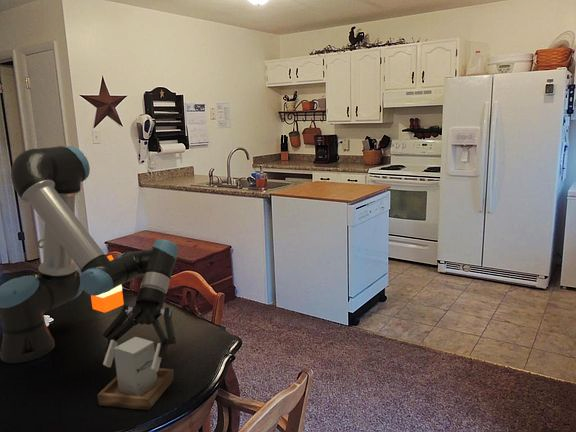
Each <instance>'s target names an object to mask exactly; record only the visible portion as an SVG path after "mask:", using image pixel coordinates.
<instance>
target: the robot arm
mask: <svg viewBox="0 0 576 432" xmlns="http://www.w3.org/2000/svg"><path fill="white" fill-rule="evenodd" d="M90 169H91V168H90V164H89V160H88V158H87V157H86V155H85V154H84V153H83V151H82V150H80V149H79V148H77V147H74V146H64V145H59V146H52V147H51V146H49V147H43V148H41V147H40V148H29V149H27V150H24V151H22V152H21V153H19V154H18V155H17V156H16V157H15V159H14V160H13V163H12V166H11V170H10V177H11V178H10V179H11V182H12V185H13V188H14V190H15V192H16V193H17V194H16V195H18V197H20V199H21V200H22V201H23V203H28V204H30V206H31V207H32V208H33V210H34V211H35V212H36V214H37V215H38V216H39V218H41V220H42V221H43V224H44V226H43V227H44V228H43V229H44V231H43V235H44V236H43V238H44V241H43V245H44V247H43V262H42V263H41V264H39V266H38V267H37V269H38V270H37V272H38V273H37V276H38V277H35V275H22V276H20V277H15V278H11V279H9V280H7V281H5V282H4V283H2V284H1V285H0V323H1V329H2V340H1V345H0V346H1V347H0V360H1V361H2V362H3V361H4V362H3V363H6V362H7V364H21V363H27V362H30V361H34V360H36V359H40V358H42V357H44V356H45V355H47V354H49V353H50V352H52V351H53V349H54V348H55V347H56V345H55V343H56V342H55V339H54V336H53V335H52V334H51V331H50V329H49V327H48V326H47V324H46V321H45V313H46V312H49V311H51V310H53V309H55V308H58V307H60V306H62V305H65V304H67V303H70V302H72V301H73V300H74V299H76V298H78V297H79V296H80V295H81V294H82V292H85V293H86V294H88V295H89V296H91V295H92V296H97V295H100V294H103V293H105V292H108V291H110V290H111V289H113V288H115V287H117V286H119V285H121V284H122V285H123V284H126V283H128V282H130V281H132V280H135V279H136V278H138V277H142V278H141V283H140V286H139V287H140V289H139V290H138V293H137V296H136V298H135V304H134V306H133V307H132V306H128V305H127V304H124V305H122V306H123V307H122V309H121V311H120V313H119V314H118V315H117V316H116V318H115V319H114V320H113V321H112V323H111V324H110V325H109V326H108V327H107V328H106V330H105V331H104V332H103V334H102V336H103V337H104V338H105V339H107V342H106V345H105V349H104V352H105V356H104V359H103V363H102V365H103V366H105V367H107V368H111V367H112V364H113V361H114V359H115V356H114V348H115V347H117V346H119V342H118V340H119V339H120V338H121V337H123V336H124V335H126V333H127V332H129V331H130V330H131V329H132V328H133V327H134V326H138V324H139V325H149V326H151V325H152V326H153V328H154V330H155V332H156V334H157V336H158V338H159V341H160V342H158V343H157V345H156V347H155V355H154V359H153V363H152V366H151V369H152V370H154V371H157V372H158V370H159V368H160V366H161V365H160V364H161V363H162V359H165V357H166V354H167V351H168V347H169V346H170V345H175V344H176V343H177V339H176V333H175V329H174V324H173V321H172V316H173V310H171V308H169V307H168V306H167V307H165V308H164V307H163V306H164V305H165V302H166V301H165V300H166V297H167V296H166V294H167V292H168V290H169V286H170V282H171V277H172V274H173V272H174V271H173V270H174V269H175V264H176V262H177V258H178V252H179V247H178V245H177V244H176V243H174V242H173V241H171V240H168V239H165V238H164V239H162V238H160V239H156V240H155V241H154V242H153V244H152V246H151V248H150V249H145V250H137V251H136V250H135V251H127V252H124V253H120V254H118V255H117V257H116V258H113V259H114V260H111V261H110V260H109V259H108V257H107V256H108V255H107V254H105V253H104V251H103V250H102V249H101V248H100V246H99V244H97V242H96V241H95V239H94V238H93V237H92V235H91V234H90V232H89V231H87V229H86V227H85V226H84V225H83V224H82V222H81V221H80V220H79V218H78V217H77V216H76V215H75V211H76V210H75V209H76V208H75V205H76V204H75V203H76V196H77V195H78V193H80V192H81V188H82V187H81V186H82V185H81V184H82V183H83V182H84V181H85V180H87V178H89V175H90V171H91V170H90ZM73 261H74V262H73ZM160 316H163V322H164V326H165V330H166V331H165V332H166V334H167V335H166V334H165V332H164V329H163V327H162V326H161V323H160V320H158V319H159V318H160Z"/></svg>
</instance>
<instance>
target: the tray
mask: <svg viewBox="0 0 576 432" xmlns="http://www.w3.org/2000/svg"><path fill="white" fill-rule="evenodd" d="M174 375H175V374H174V368H173V369H172V368H163V367H159V370H158V372H157V380H158V384H157V385H156V386H154V387H153V388H151V389H150V390H148V391H147V392H145V393H144V394H142V395H141V396H133V395H127V394H125V393H122V392H120V391H119V389H118V380H117V375H116V376H115V377H114V378H113V379H112V380H111V381H110V382H109V383H108V384H106V386H105V387H104V388H103V389H101V390H100V392H99V393H98V394H97V401H98V405H99V406H105V407H112V408H113V407H114V408H122V409H124V408H125V409H131V410H140V411H141V410H144V411H150V410H151V409H152V408H153V406H154V405H155V404H156V402H158V400H159V399H160V398H161V396H162V395H163V394H164V392H165V391H166V390H167V389H168V388H169V387H170V385H171V384H172V382H174V380H175V376H174Z"/></svg>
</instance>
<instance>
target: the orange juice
mask: <svg viewBox="0 0 576 432" xmlns="http://www.w3.org/2000/svg"><path fill="white" fill-rule="evenodd" d="M106 256H107V257H108V259H109V260H110V261H111V260H114V259H115V258H114V257H113V256H112V254H110V255H106ZM122 285H123V284H121V285H119V286H117V287H115V288H113V289H111V290H110V291H108V292H105V293H103V294H100V295H97V296H92V295H90V300H91V306H92V310H95V311H98V312H102V313H104V314H105V313H108V312H110V311H112V310H114V309H117V308H119V307H121V306H124V305H125V302H124V295H123V286H122Z"/></svg>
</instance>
